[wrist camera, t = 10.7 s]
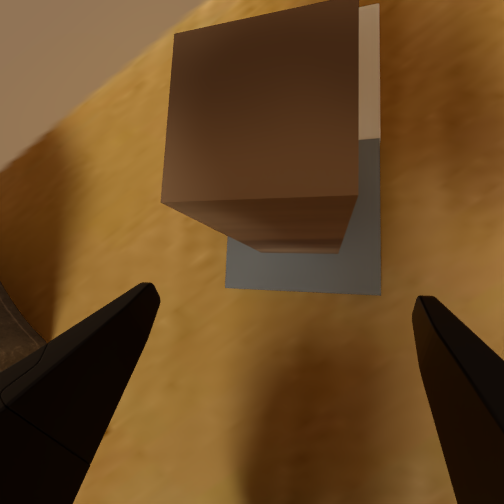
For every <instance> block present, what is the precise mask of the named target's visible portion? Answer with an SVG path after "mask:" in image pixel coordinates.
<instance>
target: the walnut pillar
mask: <svg viewBox="0 0 504 504" xmlns="http://www.w3.org/2000/svg"><path fill="white" fill-rule="evenodd" d="M358 172H359V0H329V1H325V2H320V3H315V4H311V5H306V6H301V7H297V8H292V9H287V10H283V11H278V12H274V13H269V14H264V15H260V16H255V17H250V18H246V19H241V20H236V21H232V22H227V23H222V24H218V25H213V26H208V27H204V28H199V29H195V30H190V31H185V32H181V33H176V34H174V45H173V57H172V69H171V82H170V94H169V107H168V119H167V131H166V144H165V156H164V168H163V181H162V193H161V203H163V204H165V205H167V206H169V207H171V208H173V209H175V210H177V211H179V212H181V213H183V214H185V215H187V216H189V217H191V218H193V219H195V220H197V221H199V222H201V223H203V224H205V225H207V226H209V227H211V228H213V229H215V230H217V231H219V232H221V233H223V234H225V235H227V236H229V237H231V238H233V239H235V240H237V241H239V242H241V243H243V244H245V245H247V246H249V247H251V248H253V249H255V250H257V251H259V252H261V253H313V254H338V253H339V250H340V247H341V244H342V241H343V238H344V235H345V232H346V230H347V227H348V224H349V221H350V218H351V215H352V212H353V209H354V206H355V204H356V201H357V198H358Z"/></svg>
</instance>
